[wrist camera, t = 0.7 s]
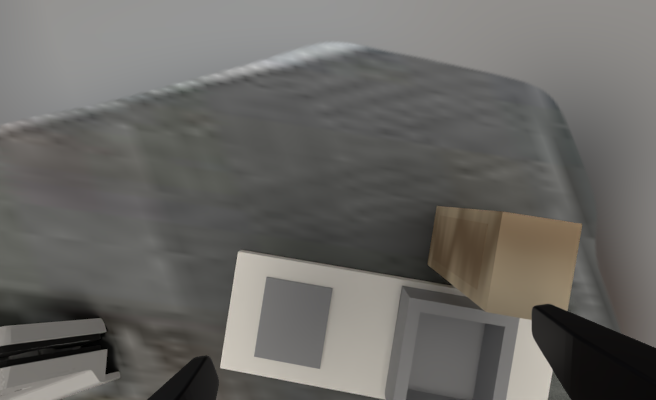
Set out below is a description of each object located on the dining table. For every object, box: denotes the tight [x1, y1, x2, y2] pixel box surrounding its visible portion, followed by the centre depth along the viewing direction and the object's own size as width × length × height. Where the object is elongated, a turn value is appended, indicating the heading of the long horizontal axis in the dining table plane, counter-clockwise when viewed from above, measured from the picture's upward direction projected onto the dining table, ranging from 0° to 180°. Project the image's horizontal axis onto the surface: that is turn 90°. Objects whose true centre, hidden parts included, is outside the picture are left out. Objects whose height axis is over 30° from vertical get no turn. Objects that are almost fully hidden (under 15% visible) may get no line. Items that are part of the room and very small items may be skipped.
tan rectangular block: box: [427, 206, 582, 320], centre depth 19 cm, size 4×3×10 cm
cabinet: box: [220, 250, 553, 400], centre depth 22 cm, size 9×24×4 cm, turn 81°
